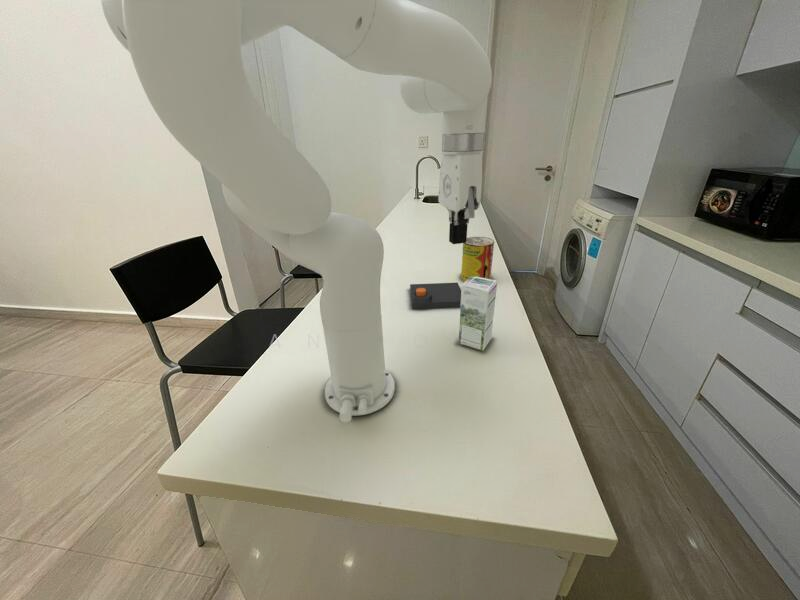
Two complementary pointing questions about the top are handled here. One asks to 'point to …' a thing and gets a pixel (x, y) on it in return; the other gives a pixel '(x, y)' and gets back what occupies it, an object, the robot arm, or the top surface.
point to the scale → (436, 296)
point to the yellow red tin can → (477, 257)
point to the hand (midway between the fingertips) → (457, 242)
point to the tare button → (421, 292)
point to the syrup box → (477, 312)
